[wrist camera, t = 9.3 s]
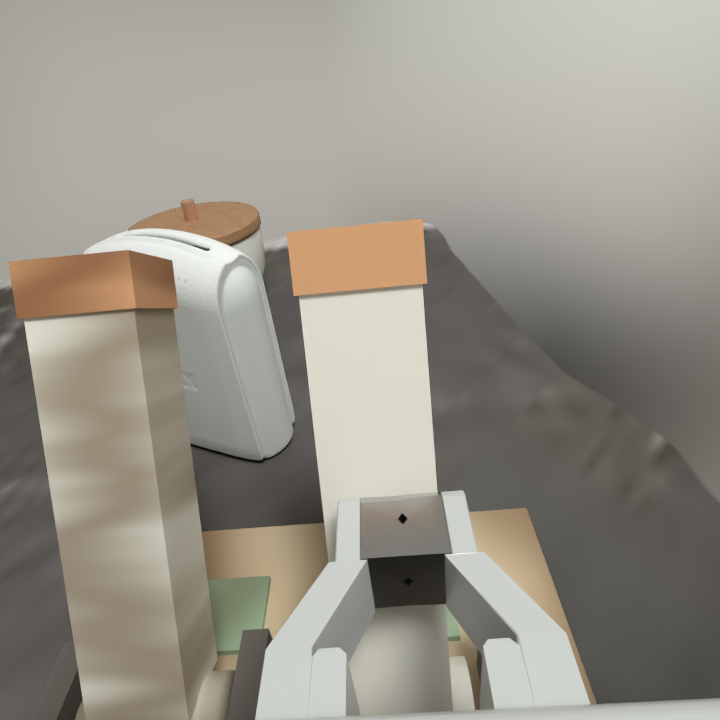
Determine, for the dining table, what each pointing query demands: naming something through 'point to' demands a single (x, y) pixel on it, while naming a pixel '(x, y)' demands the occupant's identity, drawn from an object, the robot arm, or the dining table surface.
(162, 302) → the console
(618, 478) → the dining table surface
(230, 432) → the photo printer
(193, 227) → the lidded jar
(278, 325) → the dining table surface
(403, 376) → the lever
